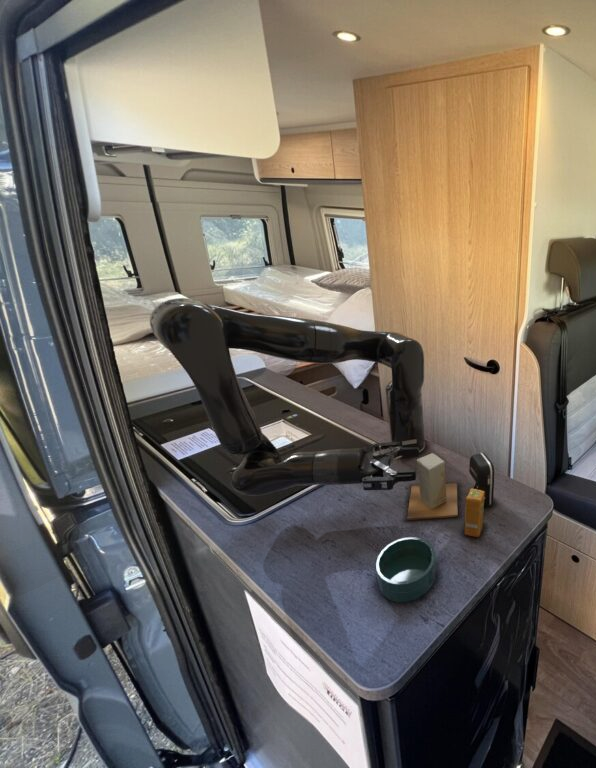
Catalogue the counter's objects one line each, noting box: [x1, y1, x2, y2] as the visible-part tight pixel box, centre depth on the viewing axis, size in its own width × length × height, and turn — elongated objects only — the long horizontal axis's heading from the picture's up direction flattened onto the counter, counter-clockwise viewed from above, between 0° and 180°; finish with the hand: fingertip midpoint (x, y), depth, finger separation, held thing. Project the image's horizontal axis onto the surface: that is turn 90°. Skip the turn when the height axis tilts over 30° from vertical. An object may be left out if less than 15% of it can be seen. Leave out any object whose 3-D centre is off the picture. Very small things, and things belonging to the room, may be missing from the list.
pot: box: [375, 536, 437, 603], centre depth 71 cm, size 10×10×4 cm
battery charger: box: [468, 452, 495, 507], centre depth 90 cm, size 7×4×11 cm, turn 28°
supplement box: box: [464, 488, 485, 538], centre depth 81 cm, size 3×3×10 cm
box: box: [416, 452, 447, 509], centre depth 88 cm, size 5×4×11 cm
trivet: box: [406, 482, 459, 521], centre depth 91 cm, size 11×11×1 cm
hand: (417, 462), depth 86 cm, fingers open, 8 cm apart
